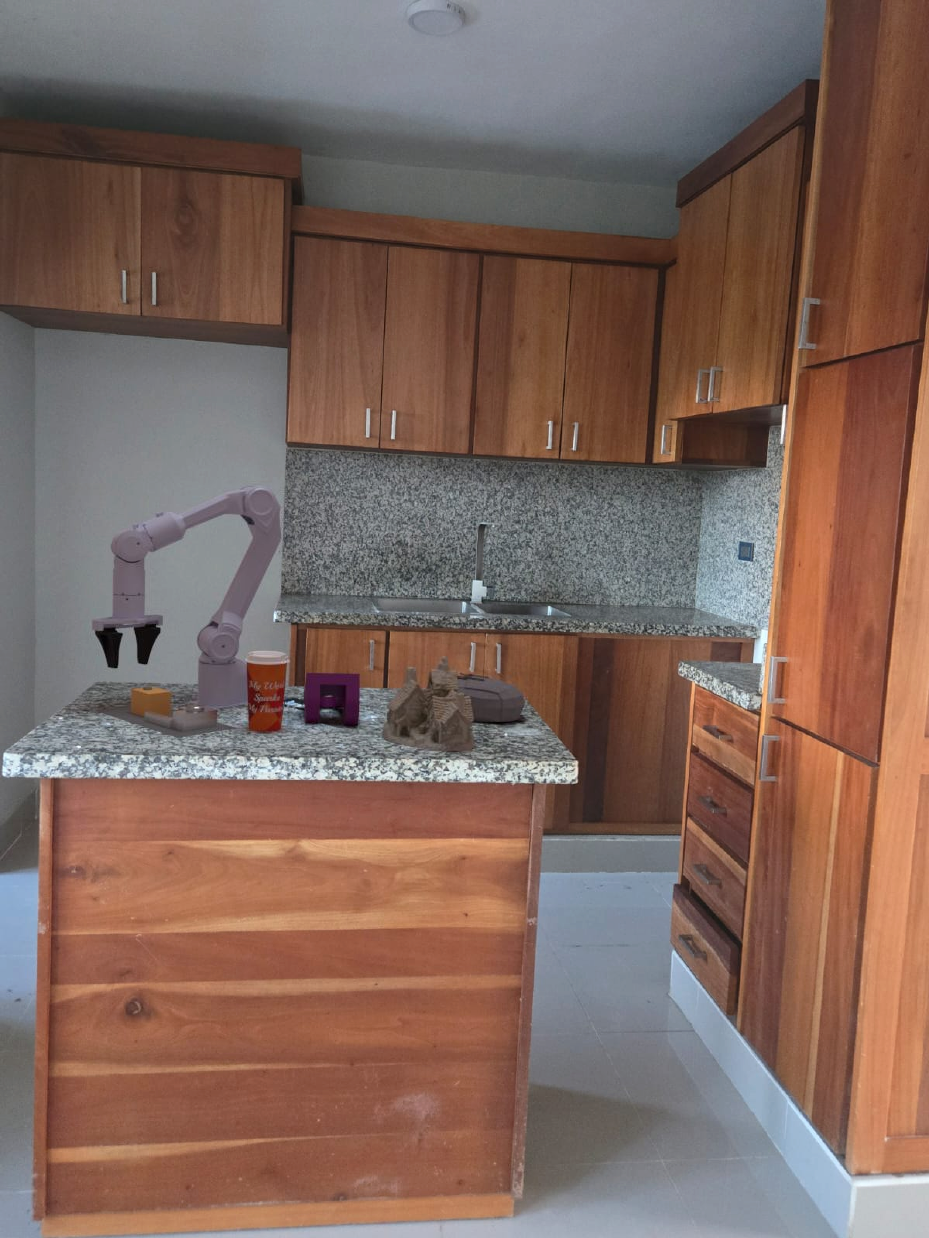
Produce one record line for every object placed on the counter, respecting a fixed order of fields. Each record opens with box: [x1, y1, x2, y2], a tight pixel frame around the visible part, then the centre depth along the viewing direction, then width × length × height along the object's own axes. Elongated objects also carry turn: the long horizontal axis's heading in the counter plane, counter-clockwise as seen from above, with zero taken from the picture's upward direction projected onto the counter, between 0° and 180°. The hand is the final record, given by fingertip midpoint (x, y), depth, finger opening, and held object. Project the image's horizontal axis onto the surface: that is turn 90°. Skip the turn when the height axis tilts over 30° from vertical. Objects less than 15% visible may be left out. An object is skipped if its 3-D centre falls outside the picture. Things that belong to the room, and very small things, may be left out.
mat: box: [94, 704, 236, 738], centre depth 181 cm, size 12×27×1 cm, turn 49°
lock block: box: [130, 686, 172, 717], centre depth 184 cm, size 4×6×5 cm
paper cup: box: [244, 650, 291, 733], centre depth 177 cm, size 8×8×14 cm
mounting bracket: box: [303, 672, 361, 726], centre depth 192 cm, size 10×9×19 cm
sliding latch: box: [145, 703, 218, 732], centre depth 178 cm, size 8×11×4 cm
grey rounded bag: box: [425, 672, 526, 723], centre depth 200 cm, size 15×8×20 cm
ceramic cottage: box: [380, 655, 475, 753], centre depth 176 cm, size 16×16×15 cm
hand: (127, 665), depth 189 cm, fingers open, 6 cm apart
